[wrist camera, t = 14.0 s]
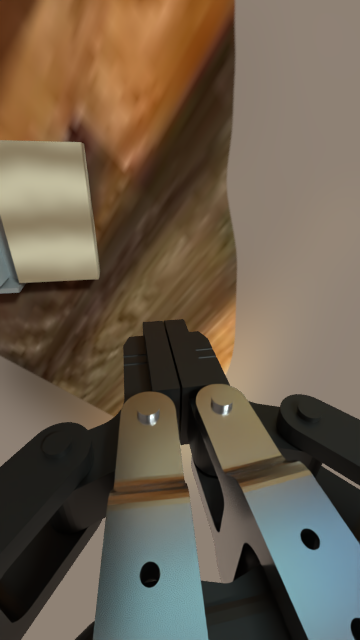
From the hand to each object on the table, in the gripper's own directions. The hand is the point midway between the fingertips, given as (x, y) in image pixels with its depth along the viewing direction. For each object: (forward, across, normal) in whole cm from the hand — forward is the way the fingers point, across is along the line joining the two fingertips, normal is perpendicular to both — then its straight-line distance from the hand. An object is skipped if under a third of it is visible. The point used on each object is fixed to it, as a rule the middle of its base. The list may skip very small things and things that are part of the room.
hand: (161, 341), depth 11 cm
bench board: (+29, +9, 0) cm, 30 cm away
